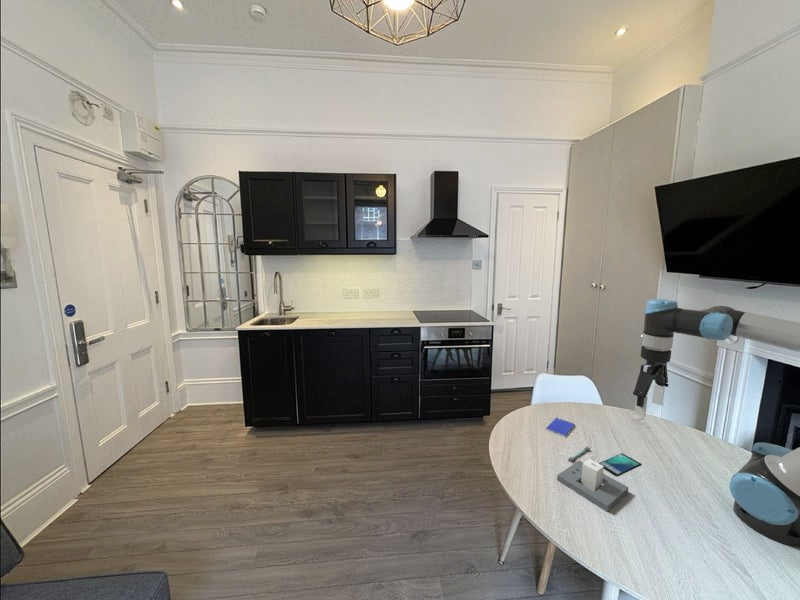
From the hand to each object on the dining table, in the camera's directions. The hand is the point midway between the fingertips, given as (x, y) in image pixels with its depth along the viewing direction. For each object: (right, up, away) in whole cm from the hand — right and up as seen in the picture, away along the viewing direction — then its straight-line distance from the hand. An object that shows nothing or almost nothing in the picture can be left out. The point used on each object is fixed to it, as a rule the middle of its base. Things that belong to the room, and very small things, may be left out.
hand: (648, 409), depth 104 cm
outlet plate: (-18, -27, +2) cm, 32 cm away
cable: (-13, -24, +18) cm, 33 cm away
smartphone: (-1, -26, +13) cm, 29 cm away
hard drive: (-10, -22, +37) cm, 45 cm away
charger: (-18, -27, +2) cm, 32 cm away
